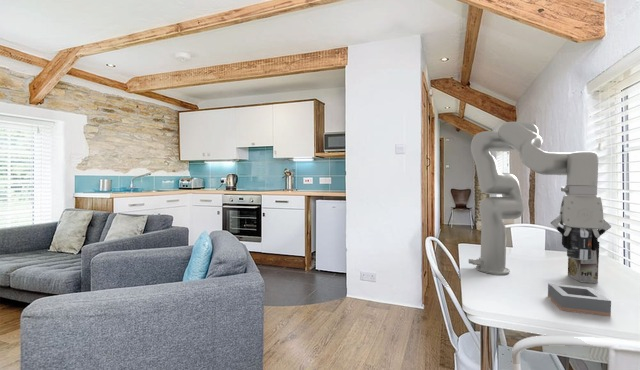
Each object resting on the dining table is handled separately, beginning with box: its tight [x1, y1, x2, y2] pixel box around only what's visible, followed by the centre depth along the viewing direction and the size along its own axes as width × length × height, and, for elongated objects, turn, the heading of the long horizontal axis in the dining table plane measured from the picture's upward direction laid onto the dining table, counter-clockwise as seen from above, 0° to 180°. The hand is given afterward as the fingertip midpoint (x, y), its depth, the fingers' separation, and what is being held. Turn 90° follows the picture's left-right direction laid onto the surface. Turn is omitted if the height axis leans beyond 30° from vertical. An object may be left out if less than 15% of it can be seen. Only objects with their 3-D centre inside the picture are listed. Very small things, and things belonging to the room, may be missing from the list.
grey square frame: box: [547, 282, 612, 317], centre depth 102 cm, size 12×12×4 cm
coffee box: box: [567, 241, 600, 284], centre depth 129 cm, size 9×6×16 cm
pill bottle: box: [566, 228, 592, 260], centre depth 101 cm, size 6×6×11 cm
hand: (579, 248), depth 101 cm, fingers closed on pill bottle, 6 cm apart
